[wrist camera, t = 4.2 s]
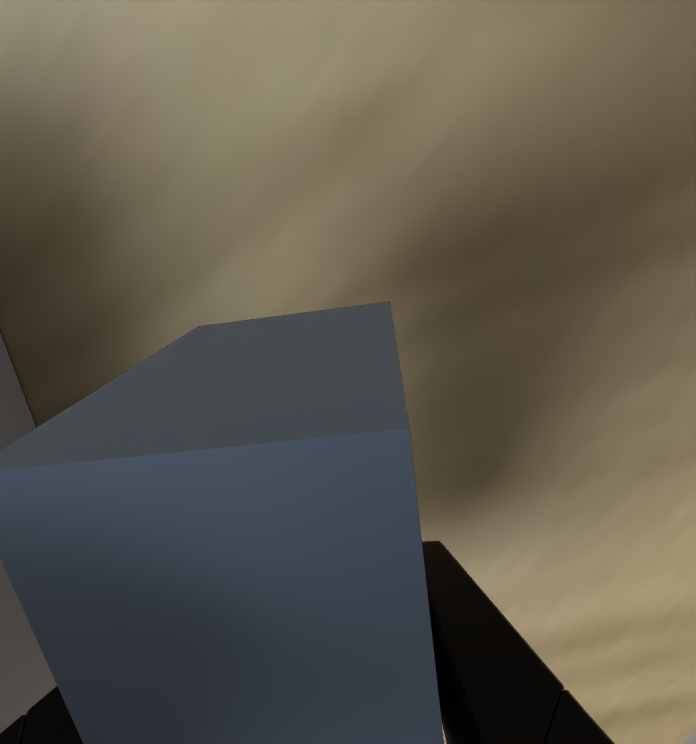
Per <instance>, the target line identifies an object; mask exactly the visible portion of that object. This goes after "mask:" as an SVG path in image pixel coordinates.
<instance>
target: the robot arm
mask: <svg viewBox="0 0 696 744" xmlns="http://www.w3.org/2000/svg"><path fill="white" fill-rule="evenodd" d="M422 548H423V557H424V566H425V575H426V584H427V594H428V603H429V612H430V621H431V630H432V639H433V648H434V657H435V667H436V676H437V685H438V694H439V703H440V712H441V720H442V725H443V729H444V733H445V737H446V742H447V744H615V743H614V742H613V741H612V740H611V739H610V738H609V737H608V736H607V734H606V733H605V732H604V731H603V730H602V729H601V728H600V727H599V726H598V724H597V723H596V722H595V721H594V720H593V719H592V718H591V717H590V716H589V715H588V713H587V712H586V711H585V710H584V709H583V707H582V706H581V705H580V704H579V703H578V702H577V700H576V699H575V698H574V697H573V696H572V694H571V693H570V692H569V691H568V690H564V686H563V684H562V683H561V682H560V681H559V680H558V678H557V677H556V676H555V675H554V674H553V673H552V671H551V670H550V669H549V668H548V667H547V666H546V664H545V663H544V662H543V661H542V660H541V659H540V657H539V656H538V655H537V654H536V653H535V652H534V650H533V649H532V648H531V647H530V646H529V645H528V643H527V642H526V641H525V640H524V639H523V638H522V636H521V635H520V634H519V633H518V632H517V631H516V629H515V628H514V627H513V626H512V625H511V624H510V622H509V621H508V620H507V619H506V618H505V616H504V615H503V614H502V613H501V612H500V611H499V609H498V608H497V607H496V606H495V605H494V604H493V602H492V601H491V600H490V599H489V598H488V597H487V595H486V594H485V593H484V592H483V591H482V590H481V588H480V587H479V586H478V585H477V584H476V583H475V581H474V580H473V579H472V578H471V577H470V576H469V574H468V573H467V572H466V571H465V570H464V569H463V567H462V566H461V565H460V564H459V563H458V562H457V560H456V559H455V558H454V557H453V556H452V555H451V553H450V552H449V551H448V550H447V549H446V547H445V546H444V545H443V544H442V543H441V542H440V541H424V542H422ZM0 744H83V742H82V740H81V737H80V735H79V733H78V731H77V729H76V726H75V724H74V722H73V720H72V717H71V715H70V713H69V711H68V708H67V706H66V704H65V702H64V700H63V697H62V695H61V693H60V691H59V688H58V686H56V687H55V688H53V689H52V690H51V691H50V692H49V693H48V694H46V695H45V696H44V697H43V698H42V699H40V700H39V701H38V702H37V703H36V704H34V705H33V706H32V707H31V708H30V709H29V710H28V711H27V714H26V715H21V716H20V717H19V718H18V719H17V720H15V721H14V722H13V723H12V724H11V725H9V726H8V727H7V728H6V729H5V730H4V731H2V732H1V733H0Z"/></svg>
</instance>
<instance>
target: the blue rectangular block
mask: <svg viewBox="0 0 696 744" xmlns="http://www.w3.org/2000/svg"><path fill="white" fill-rule="evenodd" d="M0 559H1V562H2V564H3V566H4V568H5V570H6V573H7V575H8V577H9V579H10V582H11V584H12V586H13V588H14V591H15V593H16V595H17V597H18V599H19V602H20V604H21V606H22V608H23V611H24V613H25V615H26V617H27V619H28V622H29V624H30V626H31V628H32V631H33V633H34V635H35V637H36V639H37V642H38V644H39V646H40V648H41V651H42V653H43V655H44V657H45V660H46V662H47V664H48V666H49V668H50V671H51V673H52V675H53V677H54V680H55V682H56V684H57V686H58V688H59V691H60V693H61V695H62V697H63V700H64V702H65V704H66V706H67V708H68V711H69V713H70V715H71V717H72V720H73V722H74V724H75V726H76V729H77V731H78V733H79V735H80V737H81V740H82V742H83V744H444V740H443V731H442V721H441V712H440V703H439V694H438V685H437V676H436V667H435V657H434V648H433V639H432V630H431V621H430V612H429V603H428V594H427V584H426V575H425V566H424V557H423V548H422V539H421V530H420V520H419V511H418V502H417V493H416V484H415V475H414V466H413V457H412V447H411V438H410V429H409V422H408V416H407V409H406V403H405V396H404V390H403V383H402V377H401V370H400V364H399V357H398V351H397V344H396V338H395V331H394V325H393V318H392V312H391V306H390V302H383V303H375V304H367V305H359V306H352V307H344V308H336V309H328V310H321V311H313V312H305V313H297V314H290V315H282V316H274V317H267V318H259V319H251V320H243V321H236V322H228V323H220V324H212V325H205V326H198V327H197V328H195V329H193V330H192V331H190V332H189V333H187V334H185V335H184V336H182V337H181V338H179V339H177V340H176V341H174V342H173V343H171V344H169V345H168V346H166V347H165V348H163V349H161V350H160V351H158V352H157V353H155V354H154V355H152V356H150V357H149V358H147V359H146V360H144V361H142V362H141V363H139V364H138V365H136V366H134V367H133V368H131V369H130V370H128V371H126V372H125V373H123V374H122V375H120V376H118V377H117V378H115V379H114V380H112V381H110V382H109V383H107V384H106V385H104V386H102V387H101V388H99V389H98V390H96V391H94V392H93V393H91V394H90V395H88V396H86V397H85V398H83V399H82V400H80V401H78V402H77V403H75V404H74V405H72V406H70V407H69V408H67V409H66V410H64V411H62V412H61V413H59V414H58V415H56V416H54V417H53V418H51V419H50V420H48V421H46V422H45V423H43V424H42V425H40V426H38V427H37V428H35V429H34V430H32V431H30V432H29V433H27V434H26V435H24V436H22V437H21V438H19V439H18V440H16V441H14V442H13V443H11V444H10V445H8V446H7V447H5V448H3V449H2V450H0Z"/></svg>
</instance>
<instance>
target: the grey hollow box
mask: <svg viewBox="0 0 696 744" xmlns="http://www.w3.org/2000/svg"><path fill="white" fill-rule="evenodd" d="M35 428H36V425H35V423H34V420H33V417H32V415H31V412H30V409H29V407H28V404H27V402H26V399H25V396H24V394H23V391H22V389H21V386H20V383H19V381H18V378H17V375H16V373H15V370H14V368H13V365H12V362H11V360H10V357H9V354H8V352H7V349H6V347H5V344H4V341H3V339H2V336H1V333H0V450H2V449H3V448H5V447H7V446H8V445H10V444H11V443H13V442H14V441H16V440H18V439H19V438H21V437H22V436H24V435H26V434H27V433H29V432H30V431H32V430H34V429H35ZM56 686H57V684H56V682H55V680H54V677H53V675H52V673H51V671H50V668H49V666H48V664H47V662H46V660H45V657H44V655H43V653H42V651H41V648H40V646H39V644H38V642H37V639H36V637H35V635H34V633H33V631H32V628H31V626H30V624H29V622H28V619H27V617H26V615H25V613H24V611H23V608H22V606H21V604H20V602H19V599H18V597H17V595H16V593H15V591H14V588H13V586H12V584H11V582H10V579H9V577H8V575H7V573H6V570H5V568H4V566H3V564H2V562H1V559H0V733H1V732H2V731H4V730H5V729H6V728H7V727H8V726H9V725H11V724H12V723H13V722H14V721H15V720H17V719H18V718H19V717H20V716H21V715H26V714H27V711H28V710H29V709H30V708H31V707H32V706H33V705H34V704H36V703H37V702H38V701H39V700H40V699H42V698H43V697H44V696H45V695H46V694H48V693H49V692H50V691H51V690H52V689H53V688H55V687H56Z"/></svg>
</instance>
